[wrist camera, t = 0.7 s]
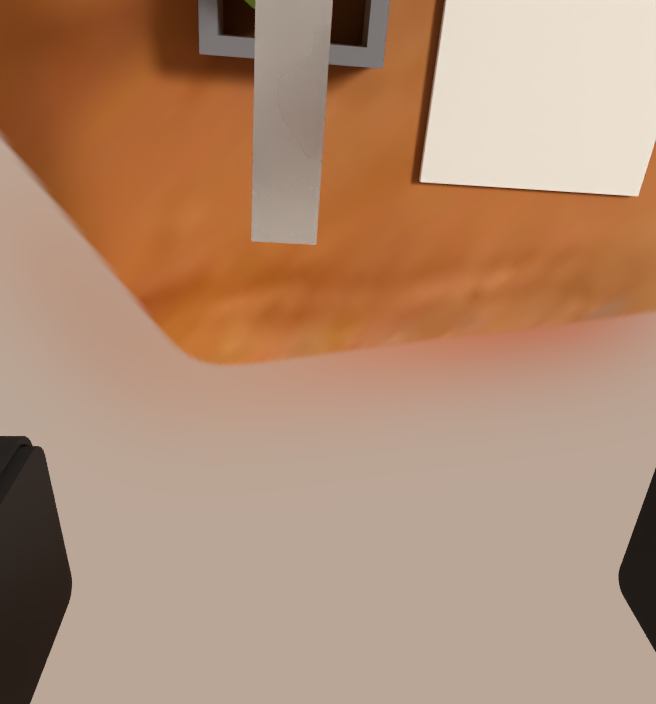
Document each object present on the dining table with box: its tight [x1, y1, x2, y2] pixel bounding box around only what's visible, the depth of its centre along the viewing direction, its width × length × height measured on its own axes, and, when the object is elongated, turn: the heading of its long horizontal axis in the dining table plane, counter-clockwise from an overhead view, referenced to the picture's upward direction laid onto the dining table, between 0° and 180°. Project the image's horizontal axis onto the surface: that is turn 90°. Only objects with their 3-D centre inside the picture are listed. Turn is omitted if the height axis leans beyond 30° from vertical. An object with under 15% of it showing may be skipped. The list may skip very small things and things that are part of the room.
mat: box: [419, 0, 656, 196], centre depth 30 cm, size 12×12×1 cm
